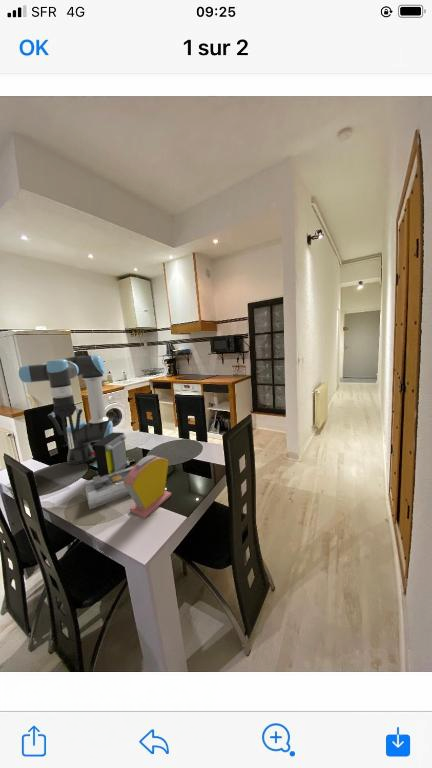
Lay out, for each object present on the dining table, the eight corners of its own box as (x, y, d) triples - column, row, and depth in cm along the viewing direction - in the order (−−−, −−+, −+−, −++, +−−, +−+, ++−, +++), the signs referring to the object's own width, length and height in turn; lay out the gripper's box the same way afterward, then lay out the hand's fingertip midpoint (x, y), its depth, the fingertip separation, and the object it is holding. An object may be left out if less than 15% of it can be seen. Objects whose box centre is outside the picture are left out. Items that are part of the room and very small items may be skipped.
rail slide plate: (86, 494, 120) (83, 480, 119) (139, 475, 134) (138, 463, 132) (89, 509, 108) (87, 495, 107) (148, 487, 122) (146, 474, 121)
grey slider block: (94, 486, 118) (92, 477, 117) (107, 481, 121) (106, 473, 121) (96, 493, 112) (94, 484, 111) (110, 488, 115) (109, 479, 115)
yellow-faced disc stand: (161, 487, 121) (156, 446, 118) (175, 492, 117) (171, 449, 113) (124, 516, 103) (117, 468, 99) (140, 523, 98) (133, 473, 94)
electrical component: (113, 481, 129) (107, 445, 126) (96, 480, 132) (90, 445, 128) (131, 464, 146) (126, 432, 143) (115, 464, 148) (111, 432, 145)
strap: (101, 482, 120) (101, 479, 119) (134, 473, 128) (134, 469, 128) (103, 489, 114) (103, 485, 114) (137, 478, 123) (137, 475, 122)
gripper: (43, 400, 99) (54, 455, 103) (81, 394, 106) (89, 446, 110) (44, 397, 105) (54, 449, 109) (79, 392, 112) (87, 441, 116)
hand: (71, 447), depth 110 cm, fingers closed
